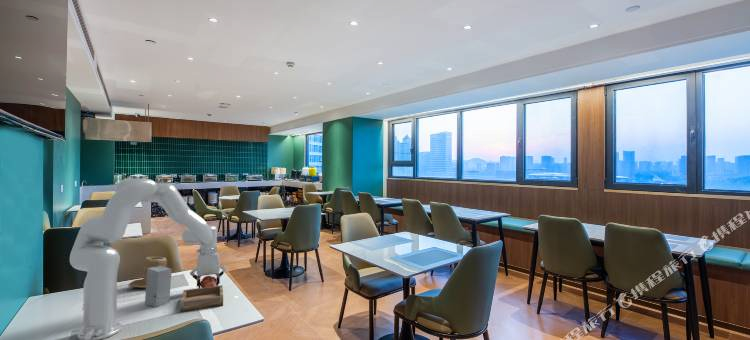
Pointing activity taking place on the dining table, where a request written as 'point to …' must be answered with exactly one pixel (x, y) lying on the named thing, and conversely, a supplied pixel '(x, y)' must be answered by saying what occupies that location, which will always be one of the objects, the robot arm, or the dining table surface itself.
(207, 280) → the pomegranate
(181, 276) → the dining table surface
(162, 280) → the skincare box
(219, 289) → the walnut tray
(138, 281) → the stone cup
